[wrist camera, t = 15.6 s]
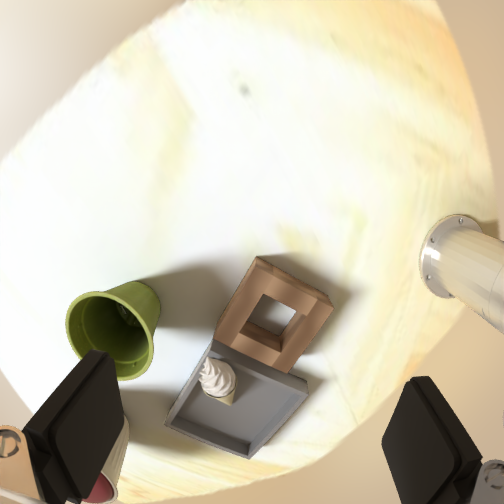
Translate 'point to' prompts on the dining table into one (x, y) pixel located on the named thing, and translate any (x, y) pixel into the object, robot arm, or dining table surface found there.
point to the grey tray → (237, 404)
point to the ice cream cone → (218, 380)
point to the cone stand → (260, 340)
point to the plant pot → (116, 326)
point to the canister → (111, 471)
